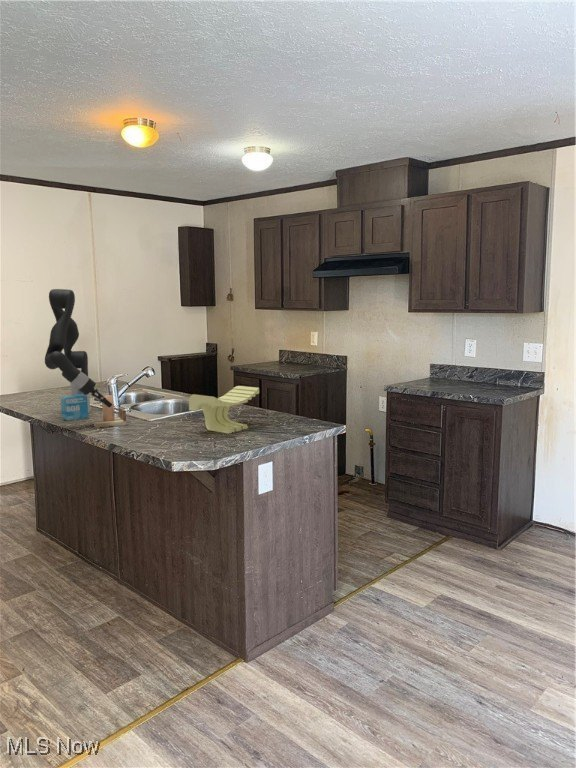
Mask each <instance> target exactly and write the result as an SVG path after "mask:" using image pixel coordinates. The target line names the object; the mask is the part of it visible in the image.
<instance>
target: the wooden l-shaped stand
mask: <svg viewBox="0 0 576 768" xmlns="http://www.w3.org/2000/svg"><path fill="white" fill-rule="evenodd" d="M93 424H94V425H93ZM92 425H93V427H95V429H101V428H100V427H104V428H110V427H109V426H113V427H120V426H121V427H122V426H127V412H126V410H125V409H124V408H123V406H118V416H114V421H103V418H96V419H92Z"/></svg>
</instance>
